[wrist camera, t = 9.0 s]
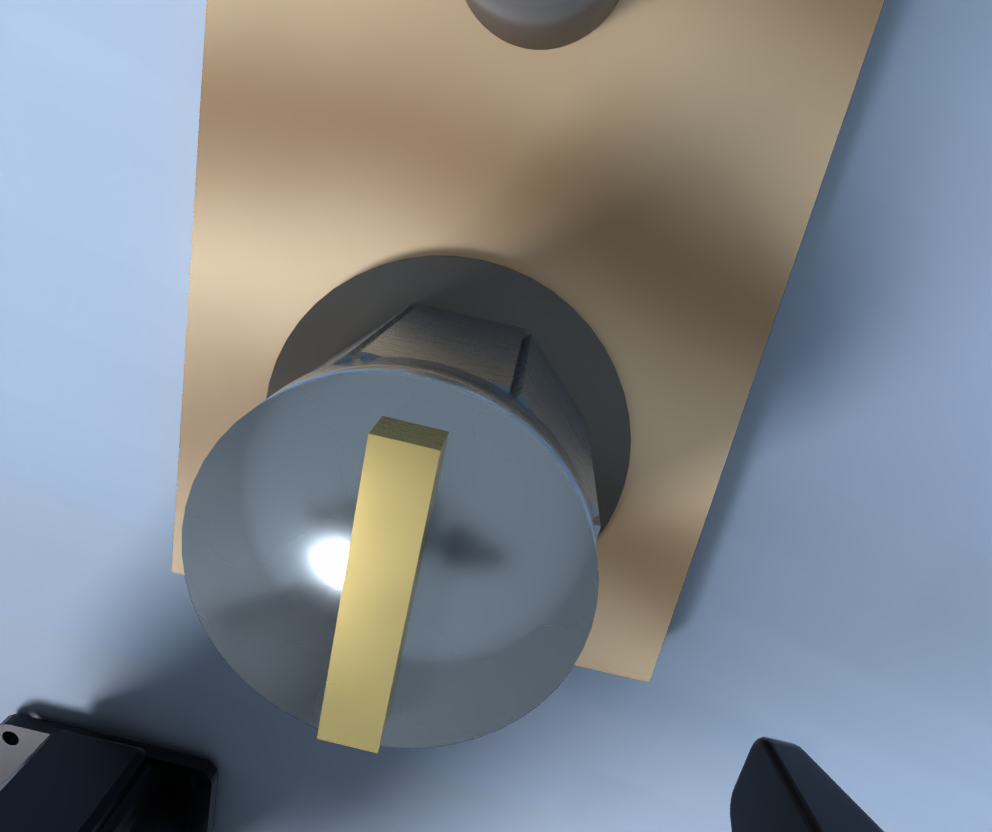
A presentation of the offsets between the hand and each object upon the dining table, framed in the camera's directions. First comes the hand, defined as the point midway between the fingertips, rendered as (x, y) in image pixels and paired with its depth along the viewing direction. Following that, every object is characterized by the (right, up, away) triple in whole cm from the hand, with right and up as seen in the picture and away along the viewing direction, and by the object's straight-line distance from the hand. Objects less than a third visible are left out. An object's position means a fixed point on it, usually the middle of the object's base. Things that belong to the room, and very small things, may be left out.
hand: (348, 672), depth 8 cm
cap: (+1, +2, +7) cm, 8 cm away
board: (+2, +7, +7) cm, 10 cm away
